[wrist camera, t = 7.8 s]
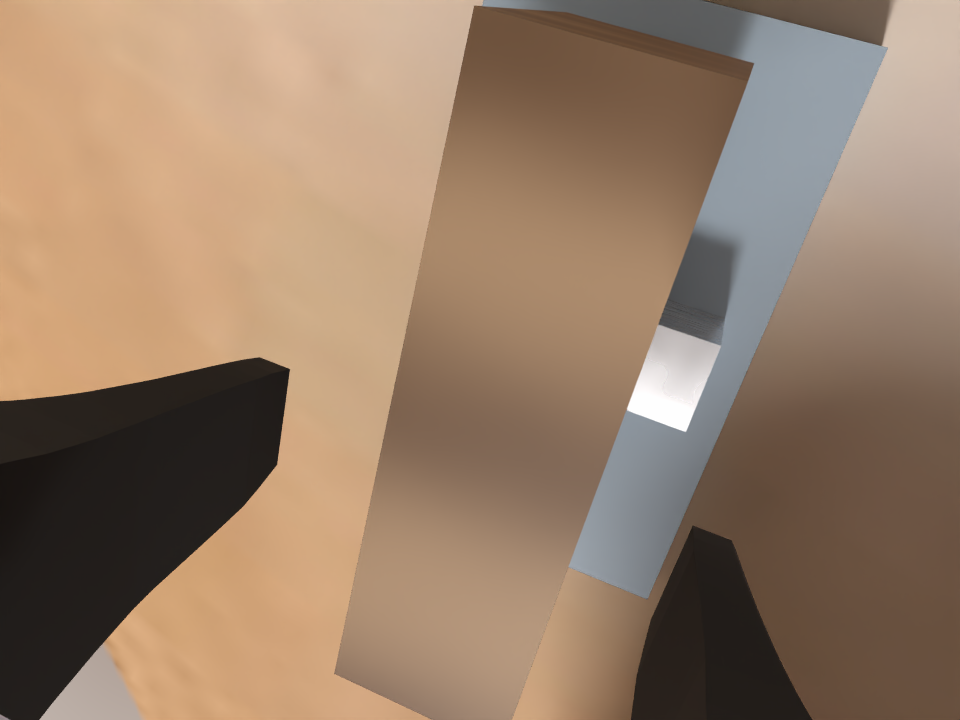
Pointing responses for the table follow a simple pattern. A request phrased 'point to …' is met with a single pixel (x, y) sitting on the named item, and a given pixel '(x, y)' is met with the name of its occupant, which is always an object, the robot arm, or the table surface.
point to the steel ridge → (677, 365)
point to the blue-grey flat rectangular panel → (723, 248)
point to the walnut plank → (525, 342)
